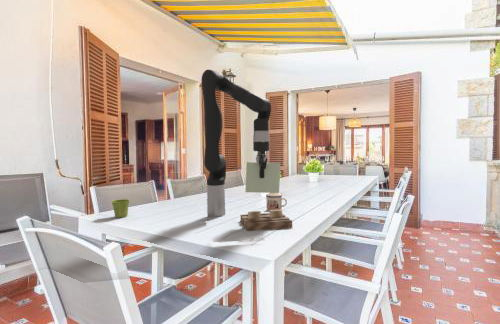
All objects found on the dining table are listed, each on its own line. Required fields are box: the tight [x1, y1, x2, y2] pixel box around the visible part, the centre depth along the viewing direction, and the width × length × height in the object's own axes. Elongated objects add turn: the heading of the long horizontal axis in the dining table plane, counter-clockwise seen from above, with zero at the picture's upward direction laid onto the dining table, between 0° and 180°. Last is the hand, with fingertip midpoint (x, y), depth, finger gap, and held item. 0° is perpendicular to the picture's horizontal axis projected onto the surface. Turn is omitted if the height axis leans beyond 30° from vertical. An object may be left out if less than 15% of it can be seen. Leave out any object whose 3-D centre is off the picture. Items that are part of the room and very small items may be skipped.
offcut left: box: [247, 210, 262, 219], centre depth 135 cm, size 6×2×6 cm, turn 101°
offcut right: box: [268, 210, 283, 218], centre depth 137 cm, size 6×2×6 cm, turn 101°
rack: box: [240, 212, 293, 232], centre depth 136 cm, size 20×18×4 cm
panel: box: [244, 161, 281, 194], centre depth 141 cm, size 16×1×14 cm, turn 101°
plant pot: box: [110, 198, 131, 219], centre depth 161 cm, size 9×9×9 cm
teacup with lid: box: [265, 192, 288, 212], centre depth 171 cm, size 12×9×12 cm
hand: (261, 177), depth 141 cm, fingers closed on panel, 1 cm apart
